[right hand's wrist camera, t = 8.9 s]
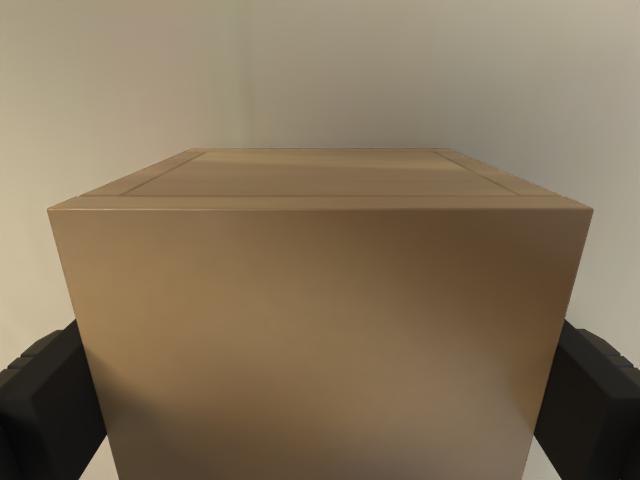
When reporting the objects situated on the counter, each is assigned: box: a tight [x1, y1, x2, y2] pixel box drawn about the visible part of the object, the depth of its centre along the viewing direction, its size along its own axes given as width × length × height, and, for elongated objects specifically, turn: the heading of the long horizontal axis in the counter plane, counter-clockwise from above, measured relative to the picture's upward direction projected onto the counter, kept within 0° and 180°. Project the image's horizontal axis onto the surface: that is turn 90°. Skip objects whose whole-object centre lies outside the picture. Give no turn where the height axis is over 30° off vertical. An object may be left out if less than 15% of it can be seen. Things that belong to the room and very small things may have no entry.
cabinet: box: [47, 149, 594, 480], centre depth 14 cm, size 17×11×9 cm, turn 0°
